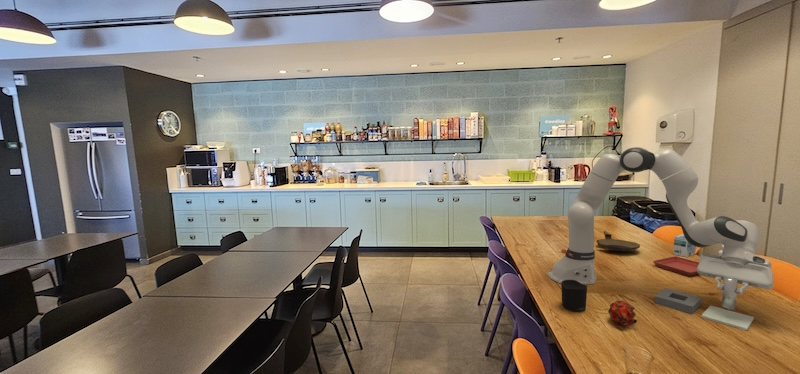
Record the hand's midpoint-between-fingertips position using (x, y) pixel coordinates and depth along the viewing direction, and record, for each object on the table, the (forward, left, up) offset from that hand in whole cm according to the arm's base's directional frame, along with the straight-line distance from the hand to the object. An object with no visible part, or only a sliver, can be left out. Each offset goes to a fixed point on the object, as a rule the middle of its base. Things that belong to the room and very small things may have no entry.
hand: (729, 291), depth 121 cm
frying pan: (+21, +81, -11) cm, 85 cm away
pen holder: (-49, +18, -11) cm, 53 cm away
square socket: (-7, +13, -11) cm, 18 cm away
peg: (+1, 0, -6) cm, 6 cm away
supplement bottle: (+45, +38, -11) cm, 60 cm away
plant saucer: (+28, +45, -11) cm, 55 cm away
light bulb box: (+49, +64, -11) cm, 82 cm away
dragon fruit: (-39, +4, -11) cm, 40 cm away
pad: (0, 0, -11) cm, 11 cm away
